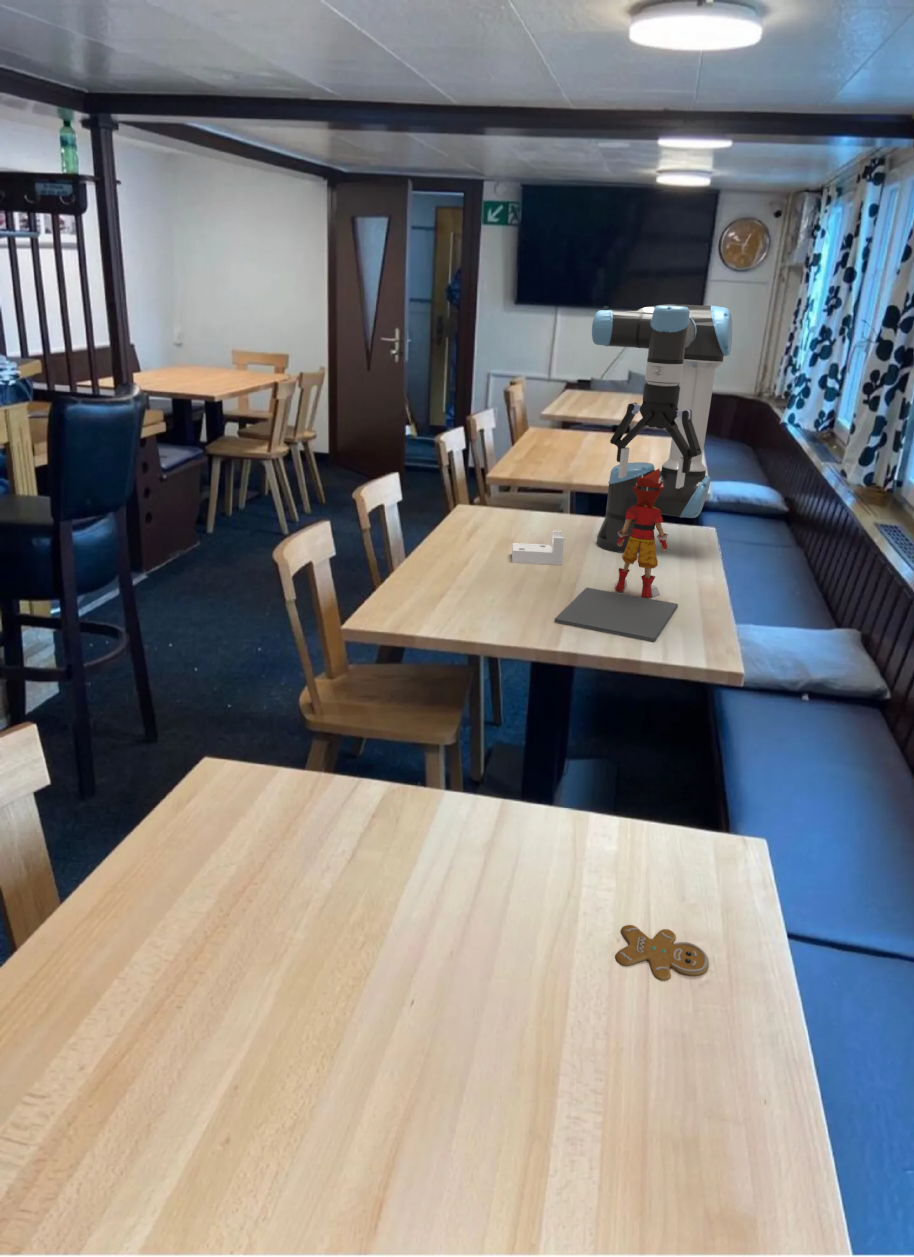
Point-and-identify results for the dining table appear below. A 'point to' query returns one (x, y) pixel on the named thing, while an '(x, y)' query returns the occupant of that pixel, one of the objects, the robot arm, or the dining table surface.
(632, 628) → the mat
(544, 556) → the bracket
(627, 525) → the toy
